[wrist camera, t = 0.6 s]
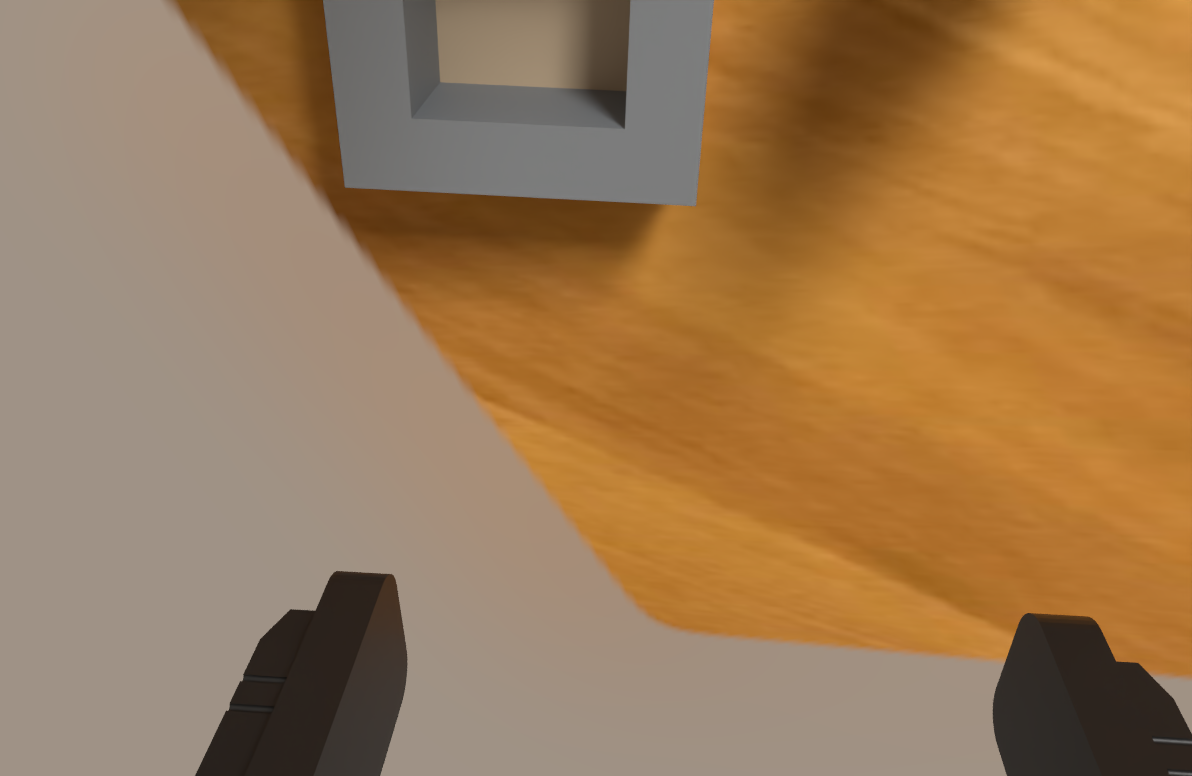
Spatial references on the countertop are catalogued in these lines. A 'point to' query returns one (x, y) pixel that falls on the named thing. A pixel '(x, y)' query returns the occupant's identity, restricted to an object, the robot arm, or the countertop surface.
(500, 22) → the socket block
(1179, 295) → the countertop surface
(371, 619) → the robot arm
